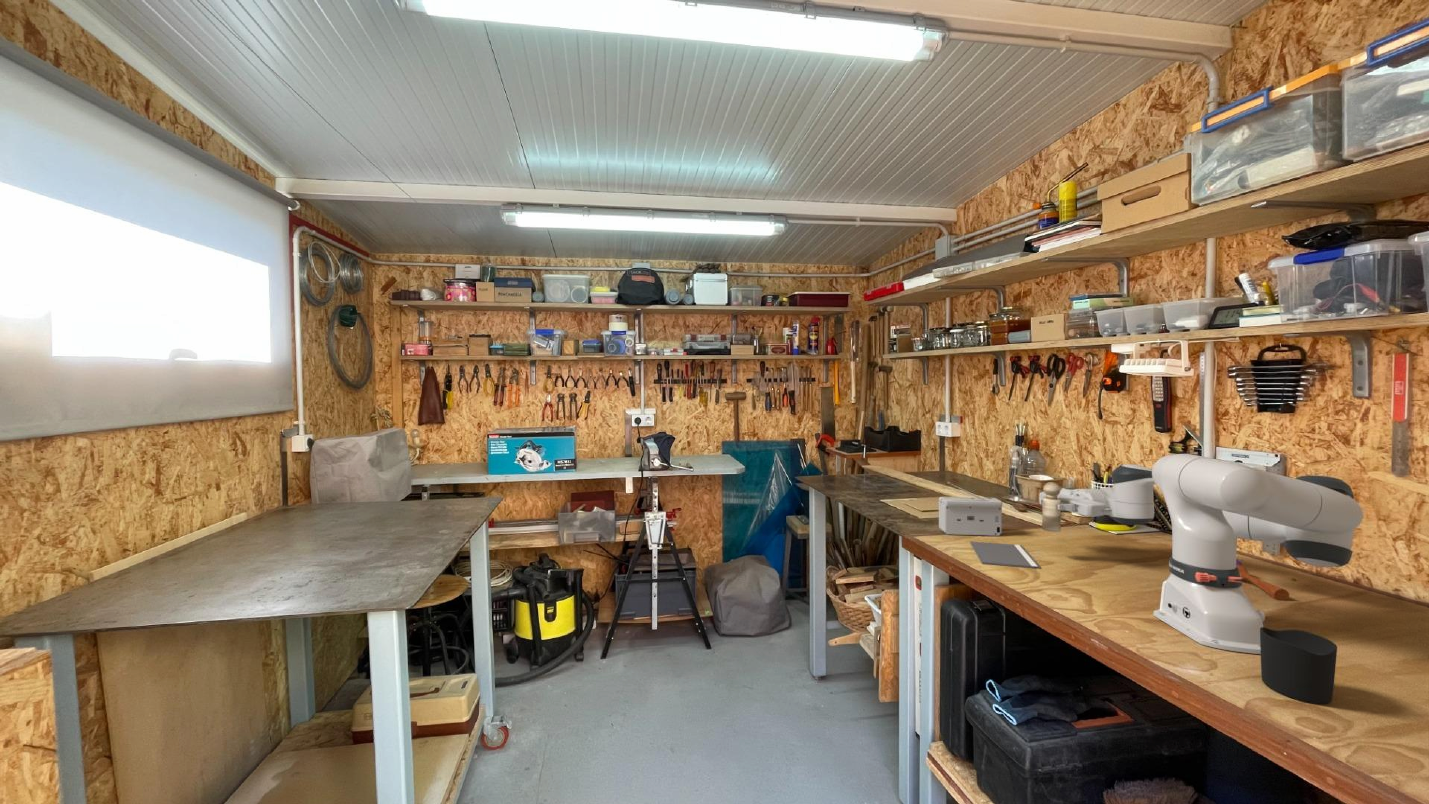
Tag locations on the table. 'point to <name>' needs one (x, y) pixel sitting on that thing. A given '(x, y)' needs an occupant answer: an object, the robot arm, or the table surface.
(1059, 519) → the skittle
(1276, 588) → the kendama
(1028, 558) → the mat
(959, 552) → the table surface
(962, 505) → the stereo radio cassette player
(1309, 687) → the pen holder
